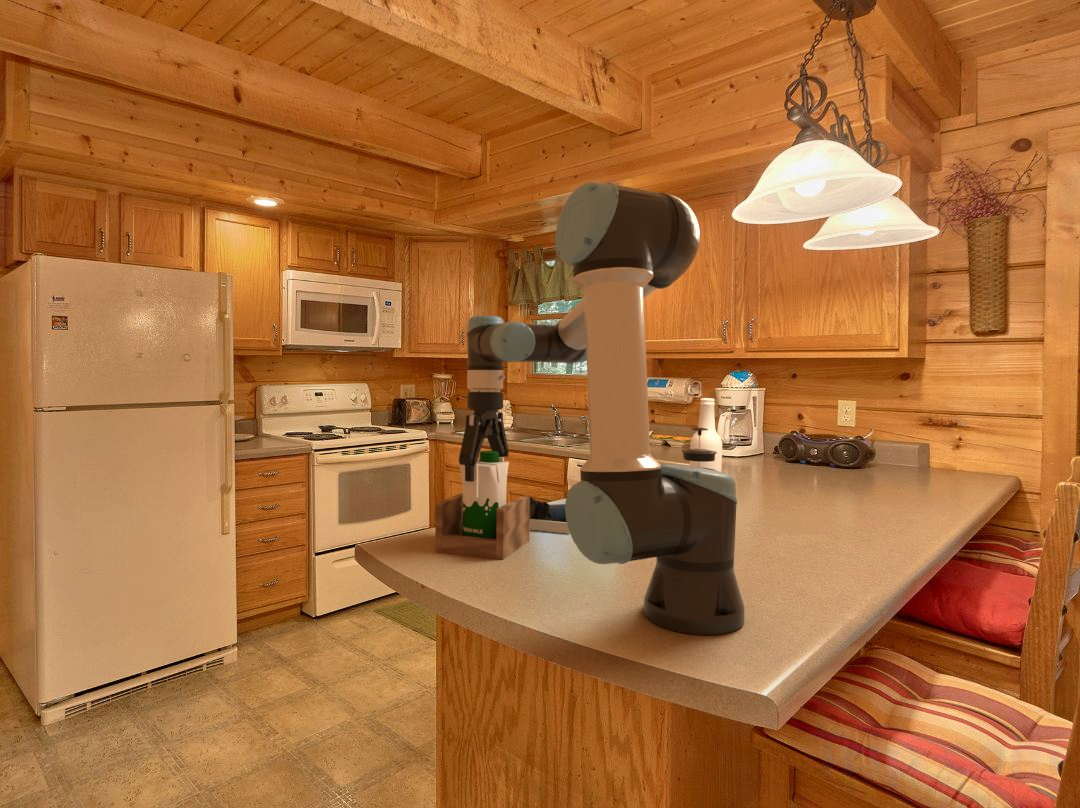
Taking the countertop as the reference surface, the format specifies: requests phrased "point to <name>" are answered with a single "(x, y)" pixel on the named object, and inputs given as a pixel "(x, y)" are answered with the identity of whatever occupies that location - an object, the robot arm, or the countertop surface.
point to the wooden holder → (449, 538)
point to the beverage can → (547, 511)
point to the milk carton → (485, 497)
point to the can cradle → (548, 526)
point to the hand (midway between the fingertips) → (485, 491)
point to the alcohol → (707, 436)
